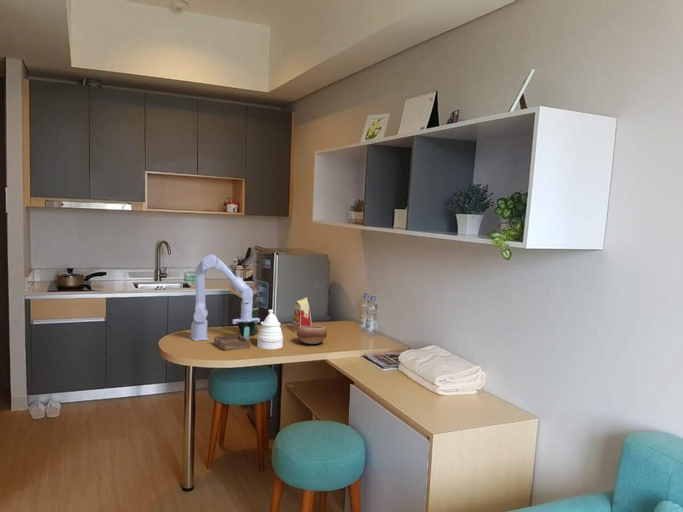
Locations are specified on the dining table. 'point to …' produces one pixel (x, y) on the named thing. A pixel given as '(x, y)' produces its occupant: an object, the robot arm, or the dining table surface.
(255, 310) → the coffee jar
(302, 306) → the milk carton
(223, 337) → the socket box
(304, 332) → the bowl
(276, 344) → the honey pot
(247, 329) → the peg
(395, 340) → the dining table surface
